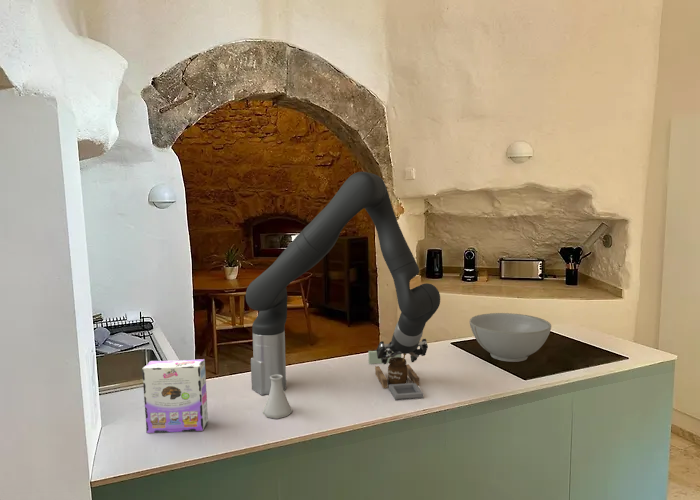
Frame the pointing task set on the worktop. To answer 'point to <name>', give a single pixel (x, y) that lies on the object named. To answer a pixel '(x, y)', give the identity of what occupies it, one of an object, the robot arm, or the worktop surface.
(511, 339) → the decorative bowl
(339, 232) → the robot arm
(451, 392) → the worktop surface
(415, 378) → the channel
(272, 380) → the flask
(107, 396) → the worktop surface
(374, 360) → the end stop
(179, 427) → the candy box
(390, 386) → the grey flat square tray
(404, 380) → the brown jar with stick
